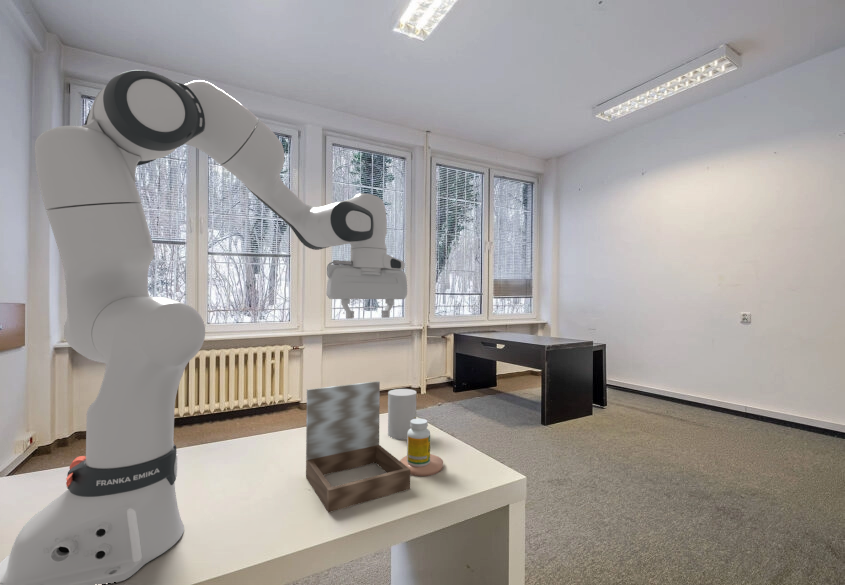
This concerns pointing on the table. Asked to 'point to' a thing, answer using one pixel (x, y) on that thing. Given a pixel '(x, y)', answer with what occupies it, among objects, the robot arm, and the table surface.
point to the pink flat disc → (427, 470)
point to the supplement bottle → (418, 443)
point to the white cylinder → (400, 412)
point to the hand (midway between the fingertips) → (368, 318)
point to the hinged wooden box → (349, 445)
